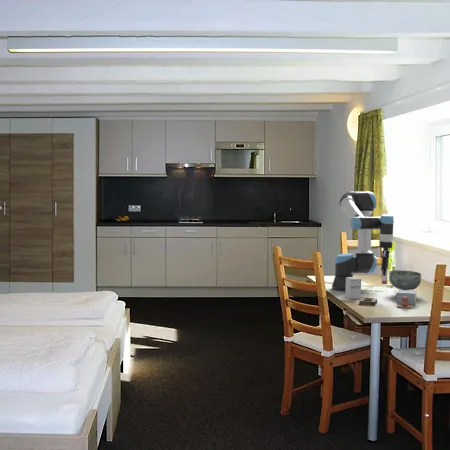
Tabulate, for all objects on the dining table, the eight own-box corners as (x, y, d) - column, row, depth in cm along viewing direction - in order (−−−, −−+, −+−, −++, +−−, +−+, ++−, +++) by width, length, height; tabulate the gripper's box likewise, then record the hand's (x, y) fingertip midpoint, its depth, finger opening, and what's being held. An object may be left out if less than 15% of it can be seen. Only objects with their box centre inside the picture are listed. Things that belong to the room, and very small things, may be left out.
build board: (361, 301, 377) (362, 297, 377) (377, 302, 374) (377, 298, 373) (359, 304, 366) (359, 300, 366) (374, 305, 363) (374, 302, 363)
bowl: (399, 299, 382) (399, 275, 381) (382, 294, 401) (383, 270, 399) (427, 298, 387) (428, 274, 386) (410, 292, 406) (411, 269, 405)
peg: (381, 282, 378) (382, 266, 377) (387, 283, 377) (388, 266, 376) (381, 283, 375) (381, 267, 374) (386, 284, 374) (387, 267, 373)
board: (398, 305, 366) (398, 294, 366) (412, 306, 363) (413, 295, 363) (397, 307, 359) (397, 297, 358) (411, 308, 356) (412, 298, 356)
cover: (398, 301, 378) (399, 289, 377) (416, 302, 374) (416, 290, 374) (397, 304, 368) (397, 292, 368) (414, 305, 365) (415, 293, 364)
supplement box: (349, 299, 381) (350, 278, 380) (344, 297, 388) (345, 276, 387) (361, 299, 383) (361, 278, 382) (356, 296, 390) (356, 276, 389)
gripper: (381, 239, 382) (379, 277, 384) (377, 242, 367) (376, 281, 370) (394, 239, 379) (392, 278, 381) (391, 243, 364) (389, 283, 367)
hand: (384, 280), depth 375 cm, fingers closed on peg, 3 cm apart
